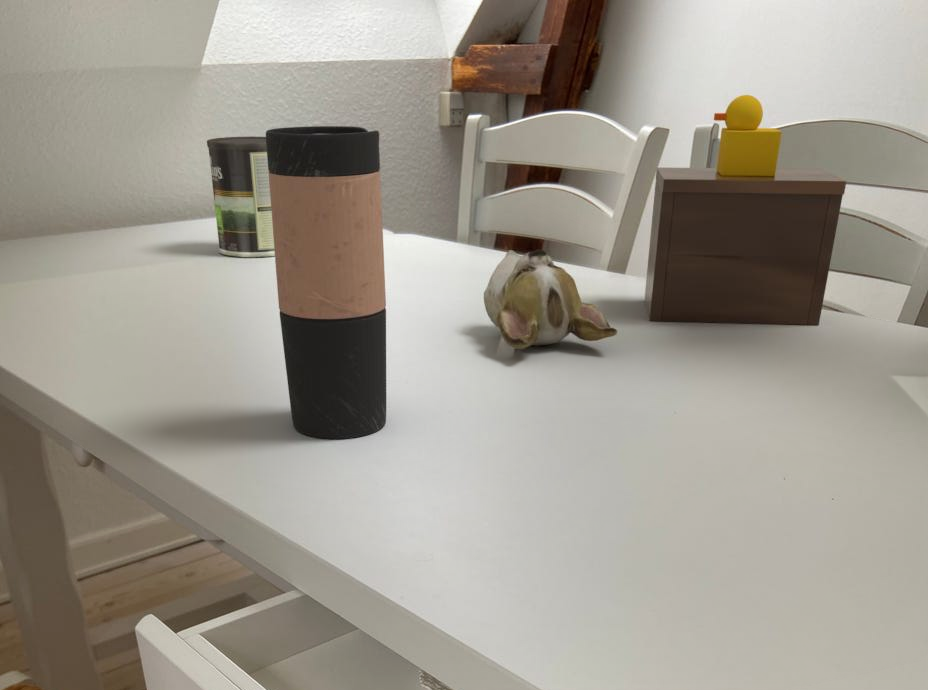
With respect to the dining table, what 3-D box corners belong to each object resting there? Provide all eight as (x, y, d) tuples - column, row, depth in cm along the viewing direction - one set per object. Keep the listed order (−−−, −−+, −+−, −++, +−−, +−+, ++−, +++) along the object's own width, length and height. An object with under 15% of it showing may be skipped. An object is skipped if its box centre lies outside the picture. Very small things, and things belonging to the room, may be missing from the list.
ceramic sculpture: (559, 229, 100) (630, 266, 88) (553, 317, 105) (620, 362, 93) (459, 236, 97) (519, 275, 85) (458, 326, 102) (514, 374, 90)
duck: (768, 171, 103) (779, 94, 99) (775, 176, 99) (787, 96, 95) (705, 171, 103) (714, 94, 100) (710, 175, 100) (719, 95, 96)
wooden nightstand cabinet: (644, 299, 113) (656, 167, 107) (799, 302, 112) (822, 168, 105) (649, 322, 104) (663, 179, 97) (819, 326, 102) (846, 181, 95)
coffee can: (221, 259, 135) (208, 143, 128) (217, 246, 144) (205, 137, 136) (297, 255, 137) (288, 141, 130) (289, 243, 146) (281, 135, 139)
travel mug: (270, 432, 74) (241, 132, 64) (319, 403, 81) (299, 124, 70) (362, 445, 72) (347, 135, 62) (406, 414, 78) (398, 127, 68)
